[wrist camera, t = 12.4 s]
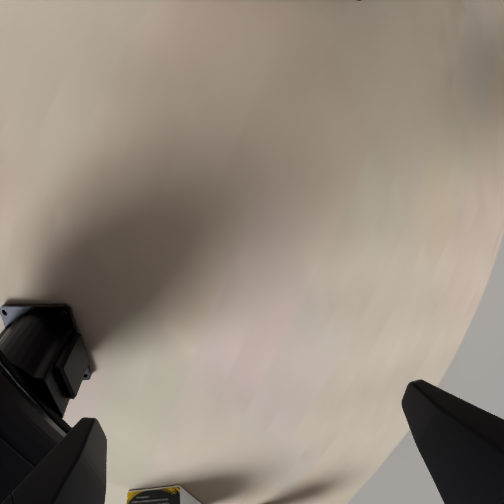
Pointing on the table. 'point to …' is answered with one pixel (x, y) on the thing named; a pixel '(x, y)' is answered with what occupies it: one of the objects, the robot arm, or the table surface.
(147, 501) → the medicine bottle
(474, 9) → the table surface
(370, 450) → the table surface
